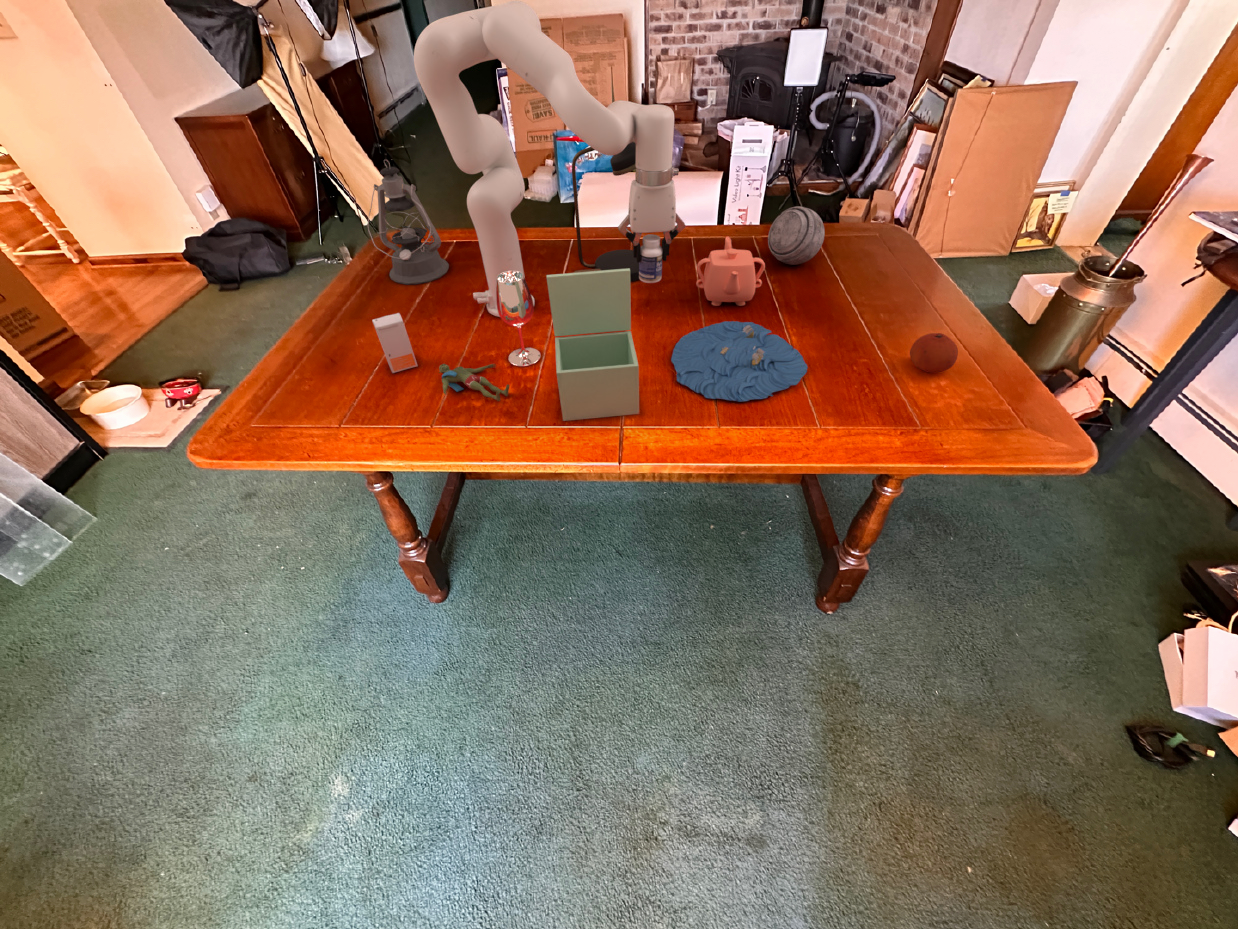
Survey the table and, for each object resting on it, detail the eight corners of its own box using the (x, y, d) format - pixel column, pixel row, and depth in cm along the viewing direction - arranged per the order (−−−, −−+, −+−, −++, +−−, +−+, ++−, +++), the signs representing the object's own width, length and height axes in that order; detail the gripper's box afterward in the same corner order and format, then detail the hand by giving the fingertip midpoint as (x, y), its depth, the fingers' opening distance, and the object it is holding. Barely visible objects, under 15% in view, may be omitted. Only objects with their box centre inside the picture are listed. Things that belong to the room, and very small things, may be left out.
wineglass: (546, 351, 131) (534, 270, 117) (532, 369, 126) (518, 287, 112) (517, 346, 133) (501, 265, 119) (501, 364, 128) (484, 282, 114)
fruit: (896, 362, 123) (908, 330, 118) (928, 353, 125) (941, 321, 120) (926, 384, 117) (940, 351, 112) (958, 373, 119) (974, 341, 114)
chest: (639, 413, 114) (638, 365, 105) (563, 421, 113) (556, 373, 105) (631, 377, 123) (630, 330, 114) (561, 384, 122) (555, 337, 114)
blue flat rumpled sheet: (795, 421, 112) (801, 401, 108) (654, 392, 120) (654, 373, 116) (814, 339, 131) (819, 320, 127) (690, 319, 139) (691, 300, 135)
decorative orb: (755, 258, 162) (762, 205, 152) (793, 246, 167) (803, 194, 156) (790, 278, 153) (800, 222, 142) (829, 265, 157) (842, 210, 147)
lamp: (656, 281, 154) (658, 123, 127) (578, 284, 155) (563, 126, 128) (654, 256, 166) (655, 105, 138) (581, 258, 166) (568, 109, 139)
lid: (630, 270, 104) (627, 257, 107) (546, 277, 103) (545, 264, 106) (630, 330, 114) (628, 316, 117) (554, 336, 113) (554, 323, 116)
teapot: (730, 319, 139) (736, 270, 130) (684, 295, 148) (686, 248, 139) (770, 299, 145) (778, 251, 136) (723, 277, 154) (728, 231, 146)
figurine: (477, 402, 111) (412, 374, 117) (479, 418, 113) (415, 390, 120) (526, 372, 122) (464, 348, 128) (527, 388, 124) (465, 364, 131)
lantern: (384, 293, 155) (342, 178, 134) (388, 263, 169) (351, 154, 148) (450, 284, 157) (419, 169, 136) (448, 254, 171) (420, 146, 150)
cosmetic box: (392, 374, 127) (374, 328, 118) (389, 365, 130) (371, 319, 121) (419, 366, 129) (403, 320, 120) (415, 357, 131) (399, 311, 123)
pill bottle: (659, 284, 130) (661, 243, 123) (637, 282, 131) (637, 241, 124) (663, 274, 134) (665, 233, 127) (641, 272, 135) (641, 231, 128)
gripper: (690, 167, 119) (684, 250, 132) (610, 171, 118) (612, 254, 131) (697, 179, 114) (690, 264, 127) (614, 183, 113) (615, 268, 126)
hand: (650, 258), depth 129 cm, fingers closed on pill bottle, 5 cm apart
